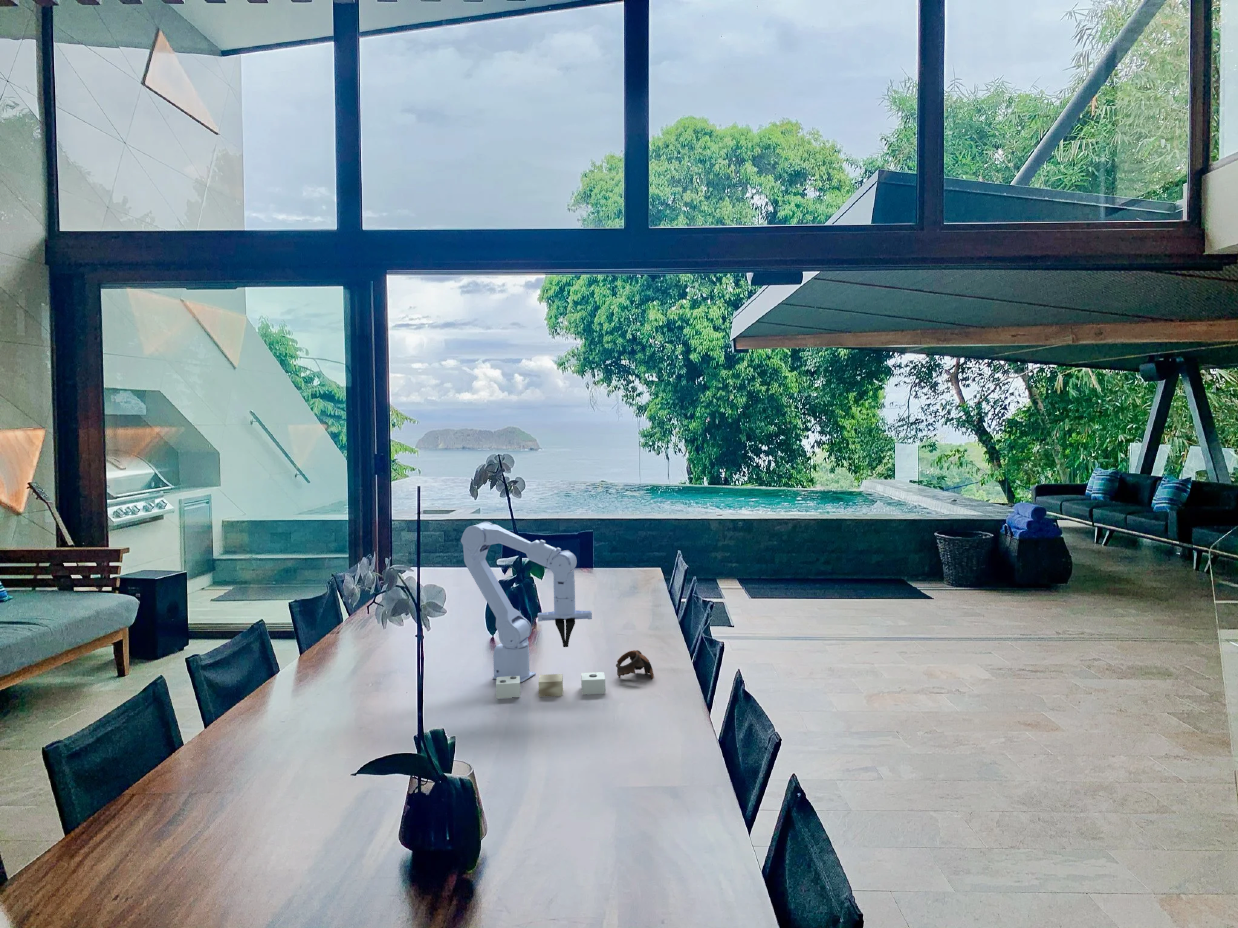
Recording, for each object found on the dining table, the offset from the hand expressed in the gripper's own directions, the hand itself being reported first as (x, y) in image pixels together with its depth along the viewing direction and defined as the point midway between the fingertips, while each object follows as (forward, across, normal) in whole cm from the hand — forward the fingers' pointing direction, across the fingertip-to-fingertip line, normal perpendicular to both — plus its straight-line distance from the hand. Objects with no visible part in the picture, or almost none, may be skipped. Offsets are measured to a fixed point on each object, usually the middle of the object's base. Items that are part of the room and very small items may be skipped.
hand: (565, 646), depth 231 cm
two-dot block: (+10, -15, -9) cm, 20 cm away
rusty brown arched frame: (+10, +19, 0) cm, 21 cm away
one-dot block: (+10, +7, -10) cm, 15 cm away
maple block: (+10, -4, -9) cm, 14 cm away
